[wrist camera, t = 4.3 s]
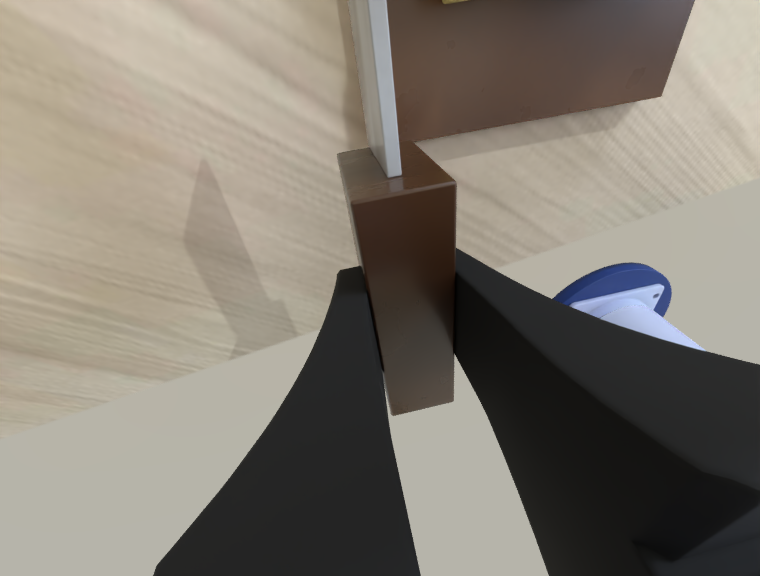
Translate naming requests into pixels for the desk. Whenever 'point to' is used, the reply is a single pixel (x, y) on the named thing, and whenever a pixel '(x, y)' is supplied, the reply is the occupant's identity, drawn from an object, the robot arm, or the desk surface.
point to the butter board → (525, 59)
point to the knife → (401, 232)
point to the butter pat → (452, 1)
